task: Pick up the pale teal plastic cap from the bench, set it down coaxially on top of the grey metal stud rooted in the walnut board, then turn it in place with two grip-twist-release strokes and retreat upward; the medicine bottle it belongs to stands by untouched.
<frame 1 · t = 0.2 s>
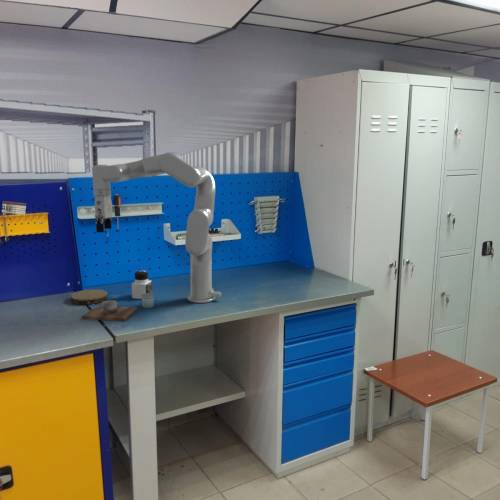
hand: (104, 230, 234), 31 cm above the table, fingers open, 9 cm apart
cap: (148, 306, 225), on the table
medicine bottle: (142, 297, 238), on the table
stud board: (110, 314, 214), on the table
wood slice: (89, 301, 233), on the table
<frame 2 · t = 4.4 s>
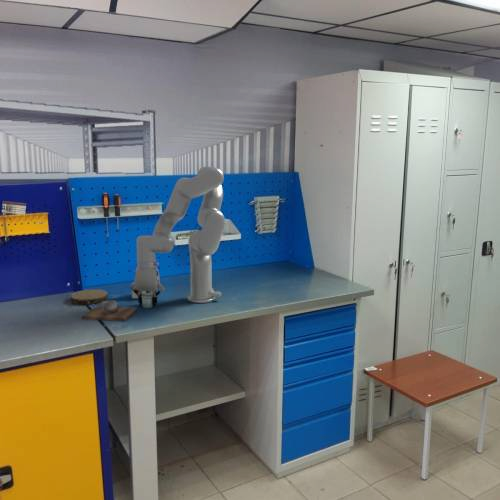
hand: (147, 304, 225), 1 cm above the table, fingers closed on cap, 5 cm apart
cap: (148, 306, 225), on the table, touching gripper
everything else where it was.
when the fingers open (6 cm above the table, at t = 8.7 s): cap stays where it is, resting on stud board.
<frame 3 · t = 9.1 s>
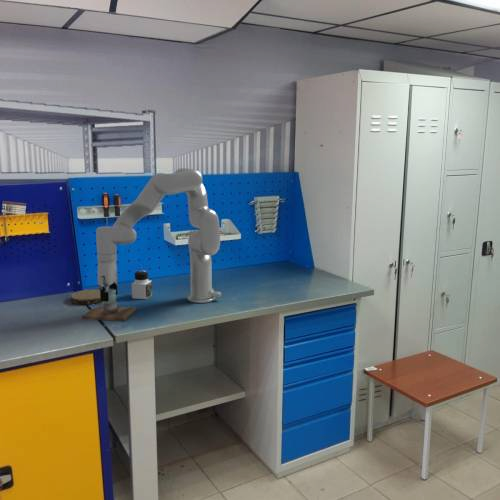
hand: (109, 297, 212), 7 cm above the table, fingers open, 9 cm apart
cap: (109, 302, 213), point 5 cm above the table, touching stud board
everything else where it was.
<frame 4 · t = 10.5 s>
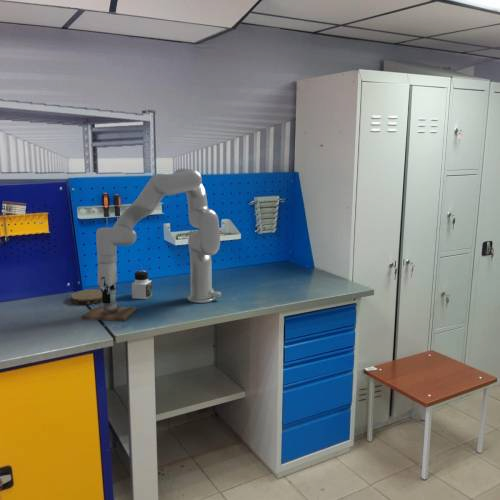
hand: (109, 300, 212), 6 cm above the table, fingers closed on cap, 5 cm apart
cap: (109, 302, 213), point 5 cm above the table, touching gripper, stud board
everything else where it was.
when the fingers open (6 cm above the table, at t = 14.5 s): cap stays where it is, resting on stud board.
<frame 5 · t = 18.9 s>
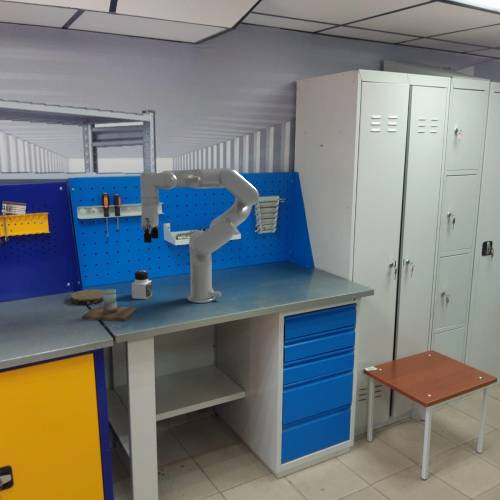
hand: (151, 240, 224), 28 cm above the table, fingers open, 9 cm apart
cap: (109, 302, 213), point 5 cm above the table, touching stud board
everything else where it was.
at the end: cap 0.1 cm from the stud board (horizontally); cap point 5.2 cm above the table; the gripper is holding nothing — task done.
